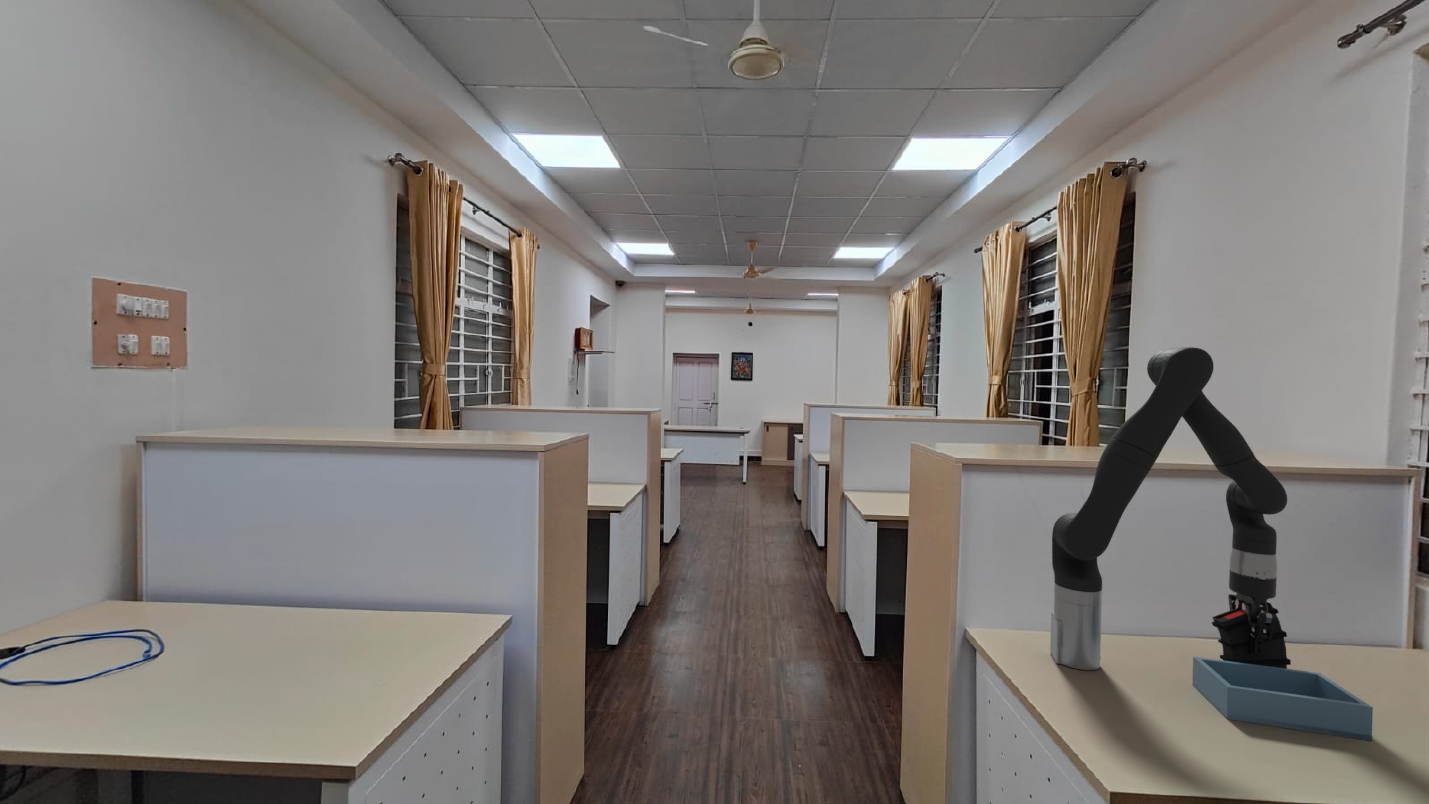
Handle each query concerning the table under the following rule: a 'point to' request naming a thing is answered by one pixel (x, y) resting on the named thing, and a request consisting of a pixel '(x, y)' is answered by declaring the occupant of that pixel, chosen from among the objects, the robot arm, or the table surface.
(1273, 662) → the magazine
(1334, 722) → the bin
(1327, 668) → the table surface
